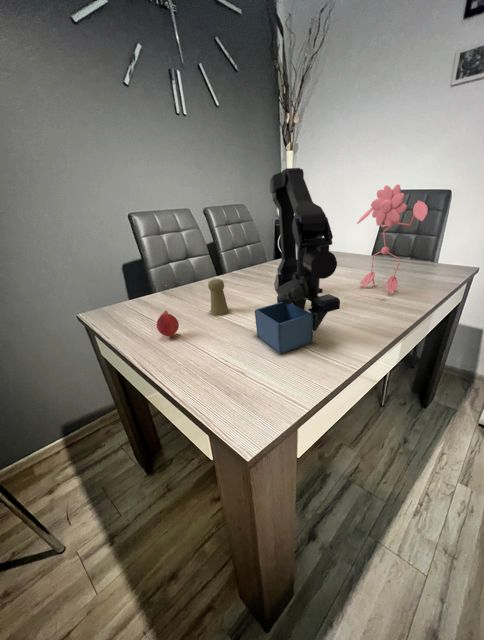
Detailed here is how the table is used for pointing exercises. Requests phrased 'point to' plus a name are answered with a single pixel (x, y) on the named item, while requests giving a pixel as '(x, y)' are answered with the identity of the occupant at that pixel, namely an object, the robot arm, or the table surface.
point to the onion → (167, 324)
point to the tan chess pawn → (217, 297)
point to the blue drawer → (284, 326)
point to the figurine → (390, 223)
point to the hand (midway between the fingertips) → (306, 325)
